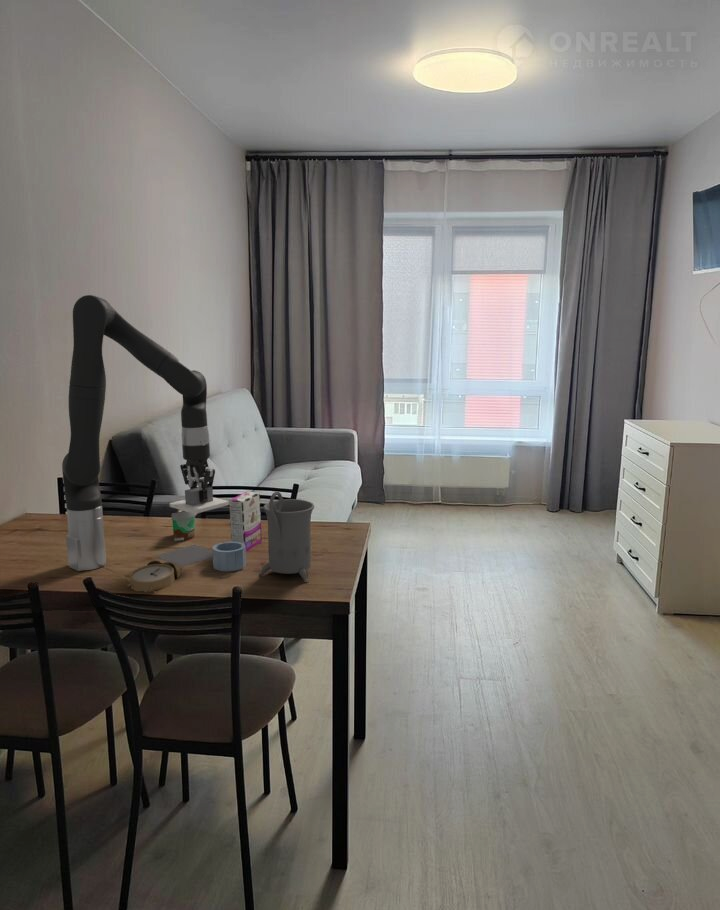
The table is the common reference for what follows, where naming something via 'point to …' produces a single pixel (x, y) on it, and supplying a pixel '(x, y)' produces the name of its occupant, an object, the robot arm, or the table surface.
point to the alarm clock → (154, 576)
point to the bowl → (229, 556)
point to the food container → (183, 525)
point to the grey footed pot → (288, 535)
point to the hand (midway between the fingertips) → (199, 500)
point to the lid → (198, 502)
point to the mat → (186, 555)
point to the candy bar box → (246, 519)
